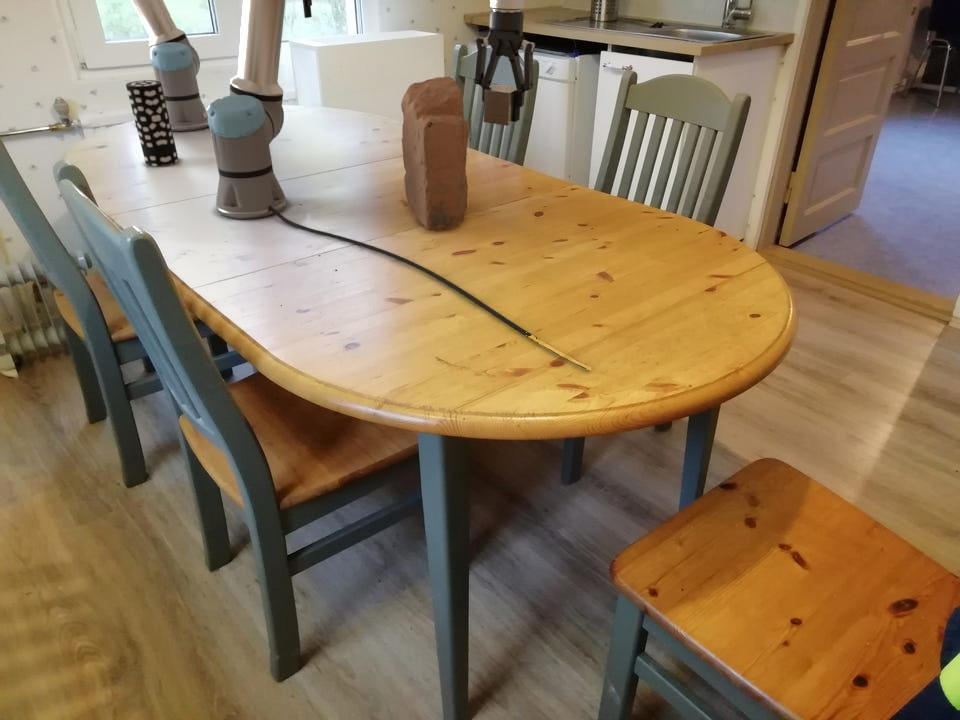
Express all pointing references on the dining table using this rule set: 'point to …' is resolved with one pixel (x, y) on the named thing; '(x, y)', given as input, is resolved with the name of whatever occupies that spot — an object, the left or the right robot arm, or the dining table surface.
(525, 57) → the right robot arm
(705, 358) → the dining table surface
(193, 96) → the left robot arm
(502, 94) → the metallic grey cube
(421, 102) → the stone
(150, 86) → the black white spotted cylinder
